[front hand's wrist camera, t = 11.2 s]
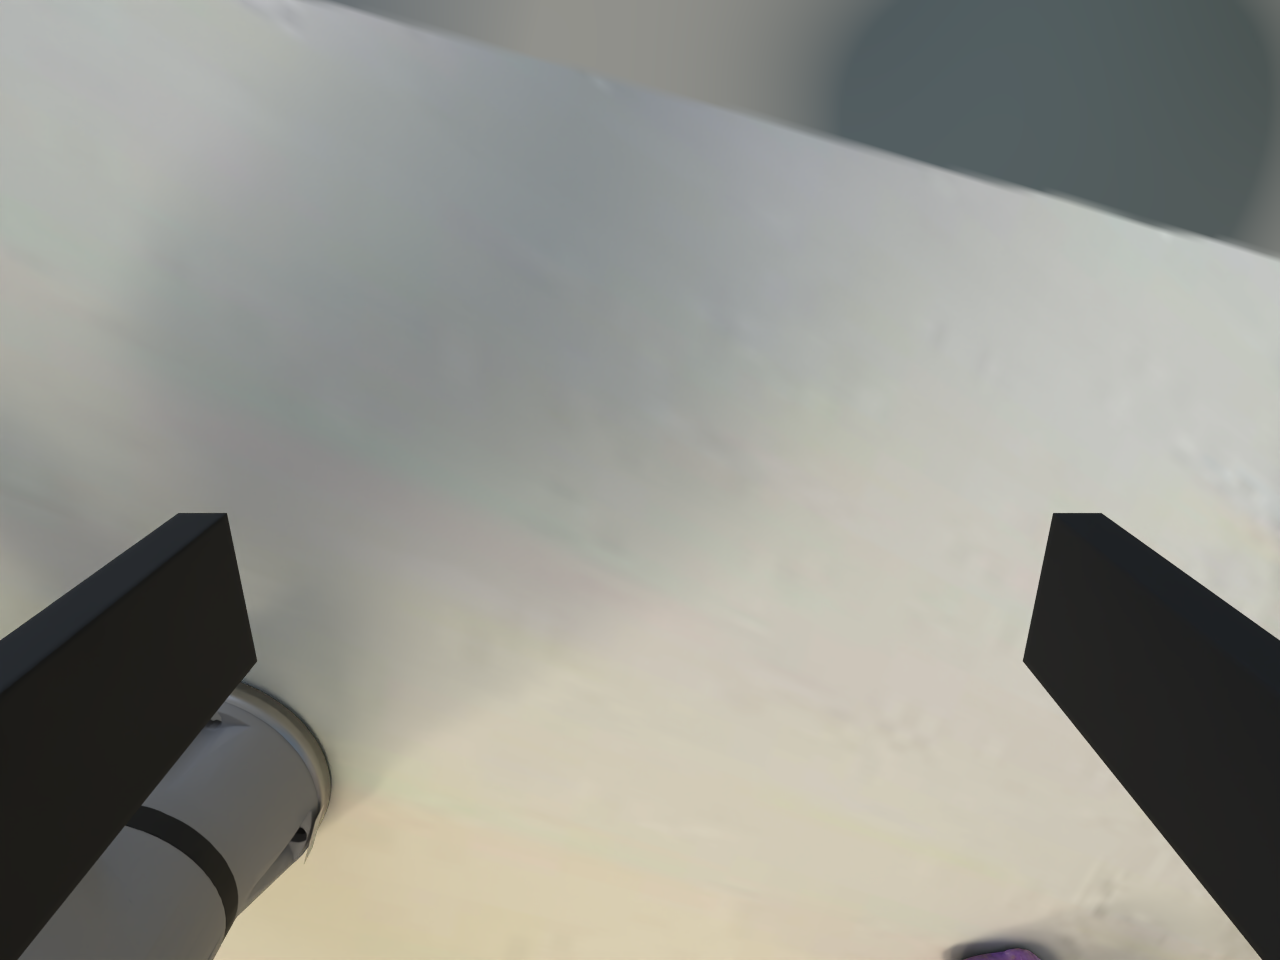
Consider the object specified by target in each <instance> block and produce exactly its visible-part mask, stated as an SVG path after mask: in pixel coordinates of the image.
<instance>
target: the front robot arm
mask: <svg viewBox="0 0 1280 960" xmlns="http://www.w3.org/2000/svg"><path fill="white" fill-rule="evenodd" d="M256 662H257V658H256V653H255V648H254V643H253V639H252V634H251V629H250V624H249V619H248V614H247V609H246V604H245V600H244V595H243V590H242V585H241V580H240V575H239V570H238V565H237V560H236V556H235V551H234V546H233V541H232V536H231V531H230V526H229V521H228V517H227V513H178V514H177V515H175V516H174V517H173V518H171V519H170V520H168V521H167V522H166V523H164V524H163V525H161V526H160V527H159V528H157V529H156V530H154V531H153V532H152V533H150V534H149V535H147V536H146V537H145V538H143V539H142V540H140V541H139V542H138V543H136V544H135V545H133V546H132V547H131V548H129V549H128V550H126V551H125V552H124V553H122V554H121V555H119V556H118V557H117V558H115V559H114V560H112V561H111V562H110V563H108V564H107V565H105V566H104V567H103V568H101V569H100V570H98V571H97V572H96V573H94V574H93V575H91V576H90V577H89V578H87V579H86V580H84V581H83V582H82V583H80V584H79V585H77V586H76V587H75V588H73V589H72V590H70V591H69V592H68V593H66V594H65V595H63V596H62V597H61V598H59V599H58V600H56V601H55V602H54V603H52V604H51V605H49V606H48V607H47V608H45V609H44V610H42V611H41V612H40V613H38V614H37V615H35V616H34V617H33V618H31V619H30V620H28V621H27V622H26V623H24V624H23V625H21V626H20V627H19V628H17V629H16V630H14V631H13V632H12V633H10V634H9V635H7V636H6V637H5V638H3V639H2V640H0V960H213V959H214V957H215V955H216V953H217V952H218V950H219V948H220V946H221V944H222V942H223V940H224V938H225V937H226V935H227V933H228V931H229V929H230V928H231V926H232V924H233V922H234V921H235V919H236V917H237V916H238V915H239V914H240V913H241V912H242V911H243V910H244V909H246V908H247V907H248V906H249V905H250V904H251V903H252V902H253V901H254V900H255V899H256V898H257V897H258V896H259V895H260V894H261V893H262V892H263V891H264V890H265V889H267V888H268V887H269V886H270V885H271V884H272V883H273V882H274V881H275V880H276V879H277V878H278V877H279V876H280V875H281V874H282V873H283V872H284V871H285V870H286V869H287V868H289V867H290V866H291V865H292V864H293V863H294V862H295V861H296V860H297V859H298V858H299V857H300V856H301V855H302V854H303V853H304V852H305V850H306V849H307V848H308V851H307V854H306V858H305V861H306V859H307V857H308V855H309V853H310V851H311V849H312V847H313V843H314V840H315V836H316V832H317V830H318V828H319V826H320V824H321V822H322V820H323V818H324V815H325V813H326V810H327V807H328V803H329V799H330V775H329V770H328V766H327V763H326V760H325V757H324V754H323V752H322V750H321V748H320V746H319V744H318V743H317V741H316V740H315V738H314V736H313V735H312V734H311V732H310V731H309V730H308V728H307V727H306V726H305V725H304V724H303V723H302V722H301V721H300V720H299V718H297V717H296V716H295V715H294V714H293V713H292V712H291V711H290V710H289V709H287V708H286V707H285V706H283V705H282V704H281V703H279V702H278V701H276V700H275V699H273V698H272V697H270V696H268V695H267V694H265V693H263V692H261V691H259V690H257V689H255V688H253V687H251V686H248V685H246V684H243V683H241V681H242V679H243V678H244V677H245V676H246V674H247V673H248V672H249V671H250V669H251V668H252V667H253V666H254V664H255V663H256ZM1023 662H1024V663H1025V664H1026V666H1027V667H1028V668H1029V669H1030V671H1031V672H1032V673H1033V674H1034V676H1035V677H1036V678H1037V679H1038V681H1039V682H1040V683H1041V684H1042V686H1043V687H1044V688H1045V689H1046V691H1047V692H1048V693H1049V694H1050V696H1051V697H1052V698H1053V699H1054V701H1055V702H1056V703H1057V704H1058V706H1059V707H1060V708H1061V709H1062V711H1063V712H1064V713H1065V714H1066V716H1067V717H1068V718H1069V719H1070V720H1071V722H1072V723H1073V724H1074V725H1075V727H1076V728H1077V729H1078V730H1079V732H1080V733H1081V734H1082V735H1083V737H1084V738H1085V739H1086V740H1087V742H1088V743H1089V744H1090V745H1091V747H1092V748H1093V749H1094V750H1095V752H1096V753H1097V754H1098V755H1099V757H1100V758H1101V759H1102V760H1103V762H1104V763H1105V764H1106V765H1107V767H1108V768H1109V769H1110V770H1111V772H1112V773H1113V774H1114V775H1115V777H1116V778H1117V779H1118V780H1119V782H1120V783H1121V784H1122V785H1123V787H1124V788H1125V789H1126V790H1127V792H1128V793H1129V794H1130V795H1131V797H1132V798H1133V799H1134V800H1135V802H1136V803H1137V804H1138V805H1139V807H1140V808H1141V809H1142V810H1143V812H1144V813H1145V814H1146V815H1147V816H1148V818H1149V819H1150V820H1151V821H1152V823H1153V824H1154V825H1155V826H1156V828H1157V829H1158V830H1159V831H1160V833H1161V834H1162V835H1163V836H1164V838H1165V839H1166V840H1167V841H1168V843H1169V844H1170V845H1171V846H1172V848H1173V849H1174V850H1175V851H1176V853H1177V854H1178V855H1179V856H1180V858H1181V859H1182V860H1183V861H1184V863H1185V864H1186V865H1187V866H1188V868H1189V869H1190V870H1191V871H1192V873H1193V874H1194V875H1195V876H1196V878H1197V879H1198V880H1199V881H1200V883H1201V884H1202V885H1203V886H1204V888H1205V889H1206V890H1207V891H1208V893H1209V894H1210V895H1211V896H1212V898H1213V899H1214V900H1215V901H1216V903H1217V904H1218V905H1219V906H1220V908H1221V909H1222V910H1223V911H1224V912H1225V914H1226V915H1227V916H1228V917H1229V919H1230V920H1231V921H1232V922H1233V924H1234V925H1235V926H1236V927H1237V929H1238V930H1239V931H1240V932H1241V934H1242V935H1243V936H1244V937H1245V939H1246V940H1247V941H1248V942H1249V944H1250V945H1251V946H1252V947H1253V949H1254V950H1255V951H1256V952H1257V954H1258V955H1259V956H1260V957H1261V959H1262V960H1280V640H1278V639H1277V638H1275V637H1274V636H1273V635H1271V634H1270V633H1268V632H1267V631H1266V630H1264V629H1263V628H1261V627H1260V626H1259V625H1257V624H1256V623H1254V622H1253V621H1252V620H1250V619H1249V618H1247V617H1246V616H1245V615H1243V614H1242V613H1240V612H1239V611H1238V610H1236V609H1235V608H1233V607H1232V606H1231V605H1229V604H1228V603H1226V602H1225V601H1224V600H1222V599H1221V598H1219V597H1218V596H1217V595H1215V594H1214V593H1212V592H1211V591H1210V590H1208V589H1207V588H1205V587H1204V586H1203V585H1201V584H1200V583H1198V582H1197V581H1196V580H1194V579H1193V578H1191V577H1190V576H1189V575H1187V574H1186V573H1184V572H1183V571H1182V570H1180V569H1179V568H1177V567H1176V566H1175V565H1173V564H1172V563H1170V562H1169V561H1168V560H1166V559H1165V558H1163V557H1162V556H1161V555H1159V554H1158V553H1156V552H1155V551H1154V550H1152V549H1151V548H1149V547H1148V546H1147V545H1145V544H1144V543H1142V542H1141V541H1140V540H1138V539H1137V538H1135V537H1134V536H1133V535H1131V534H1130V533H1128V532H1127V531H1126V530H1124V529H1123V528H1121V527H1120V526H1119V525H1117V524H1116V523H1114V522H1113V521H1112V520H1110V519H1109V518H1107V517H1106V516H1105V515H1103V514H1102V513H1053V517H1052V521H1051V526H1050V531H1049V536H1048V541H1047V546H1046V551H1045V556H1044V560H1043V565H1042V570H1041V575H1040V580H1039V585H1038V590H1037V595H1036V600H1035V604H1034V609H1033V614H1032V619H1031V624H1030V629H1029V634H1028V639H1027V643H1026V648H1025V653H1024V658H1023ZM308 846H309V847H308ZM304 863H305V862H304Z"/></svg>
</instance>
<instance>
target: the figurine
mask: <svg viewBox="0 0 1280 960" xmlns="http://www.w3.org/2000/svg"><path fill="white" fill-rule="evenodd" d="M963 960H1041V959H1040V958H1038V957H1037V956H1036V955H1034V954H1033V953H1032V952H1030V951H1029V950H1026V949H1021V948H1015V949H1008V950H1006V951H1004V952H996V953H988V954H981V955H977V956H973V957H970V958H967V959H963Z"/></svg>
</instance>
